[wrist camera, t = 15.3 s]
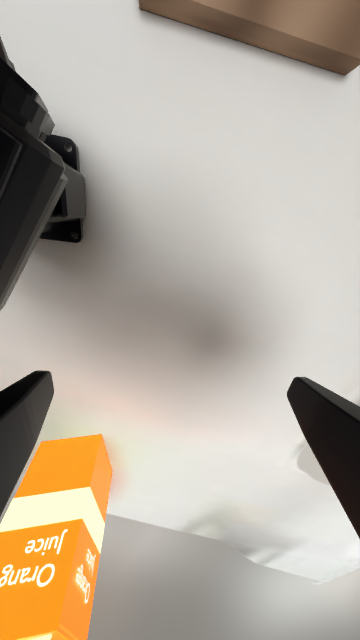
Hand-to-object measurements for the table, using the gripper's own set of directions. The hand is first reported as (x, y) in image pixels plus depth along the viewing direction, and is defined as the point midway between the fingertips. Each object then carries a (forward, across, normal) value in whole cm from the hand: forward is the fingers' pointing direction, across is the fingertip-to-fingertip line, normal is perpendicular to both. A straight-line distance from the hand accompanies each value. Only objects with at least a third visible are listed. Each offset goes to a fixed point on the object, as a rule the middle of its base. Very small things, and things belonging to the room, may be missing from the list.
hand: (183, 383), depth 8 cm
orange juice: (+13, +9, +26) cm, 31 cm away
